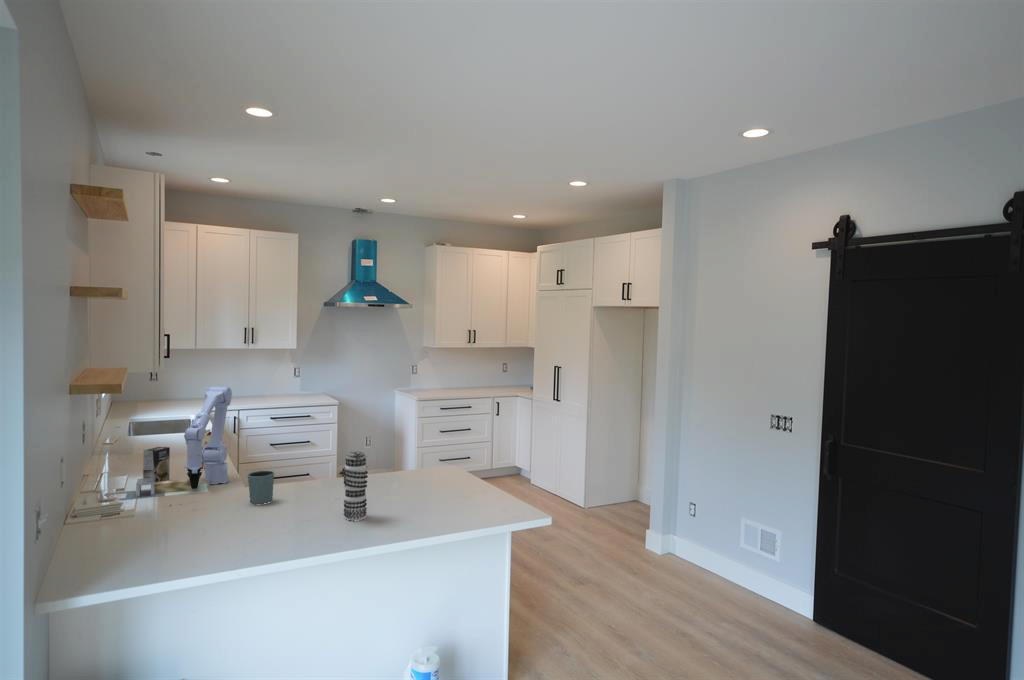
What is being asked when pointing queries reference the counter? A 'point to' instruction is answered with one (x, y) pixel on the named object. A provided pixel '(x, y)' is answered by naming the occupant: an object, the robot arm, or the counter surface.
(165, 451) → the coffee box
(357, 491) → the striped cylindrical tower
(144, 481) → the tunnel
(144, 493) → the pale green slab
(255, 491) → the green cup
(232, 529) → the counter surface
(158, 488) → the oak bar
